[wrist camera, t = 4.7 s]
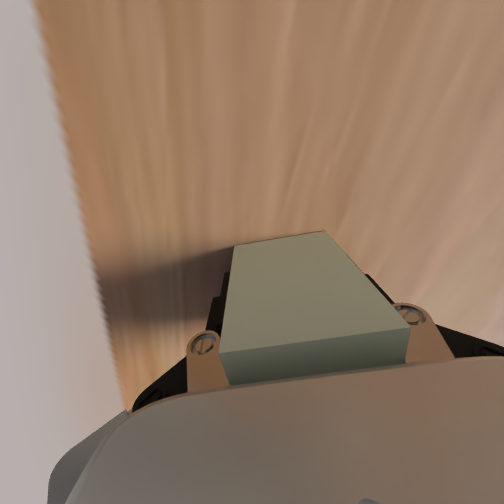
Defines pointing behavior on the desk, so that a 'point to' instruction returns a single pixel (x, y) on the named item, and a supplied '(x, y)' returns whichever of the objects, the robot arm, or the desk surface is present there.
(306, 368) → the sage block
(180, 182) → the desk surface
